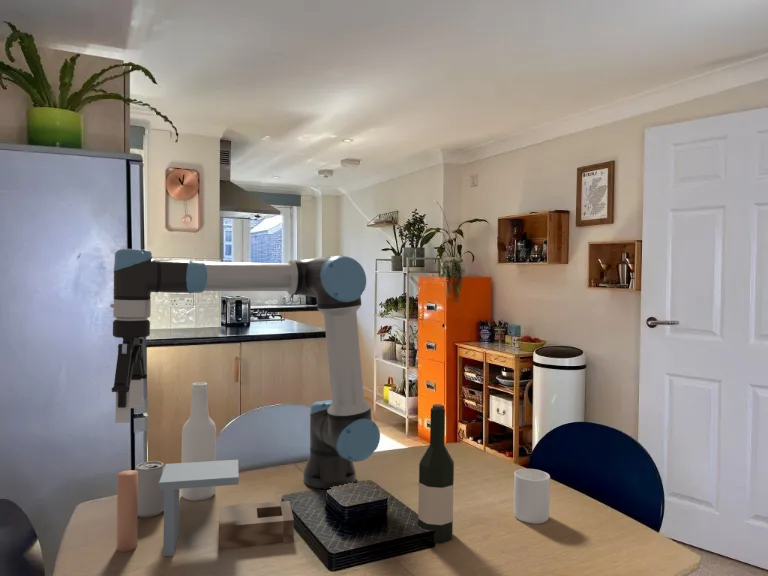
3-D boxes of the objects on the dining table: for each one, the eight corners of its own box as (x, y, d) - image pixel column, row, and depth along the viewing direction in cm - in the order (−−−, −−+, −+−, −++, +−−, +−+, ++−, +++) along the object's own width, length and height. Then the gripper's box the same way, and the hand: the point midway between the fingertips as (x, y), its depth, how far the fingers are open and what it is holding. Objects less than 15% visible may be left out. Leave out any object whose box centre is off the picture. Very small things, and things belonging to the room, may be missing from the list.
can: (153, 520, 136) (154, 470, 135) (126, 517, 137) (126, 467, 137) (171, 508, 143) (172, 460, 143) (145, 505, 144) (145, 458, 144)
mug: (534, 504, 150) (535, 463, 150) (555, 523, 138) (556, 479, 138) (503, 505, 148) (504, 464, 148) (521, 525, 136) (522, 481, 136)
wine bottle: (443, 547, 125) (446, 411, 124) (410, 537, 129) (413, 406, 129) (459, 533, 132) (462, 404, 131) (427, 524, 136) (430, 399, 136)
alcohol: (222, 493, 153) (224, 382, 153) (197, 504, 146) (199, 387, 145) (199, 486, 158) (200, 379, 157) (173, 497, 150) (174, 384, 149)
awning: (237, 525, 134) (238, 459, 134) (237, 549, 122) (238, 477, 122) (165, 531, 130) (165, 463, 129) (158, 557, 118) (159, 482, 118)
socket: (288, 521, 136) (289, 500, 136) (293, 542, 126) (293, 519, 126) (219, 527, 132) (219, 506, 132) (218, 549, 122) (218, 526, 122)
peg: (138, 542, 125) (139, 469, 124) (135, 550, 121) (136, 475, 120) (118, 543, 124) (119, 470, 123) (115, 552, 120) (115, 477, 119)
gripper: (126, 315, 137) (124, 402, 137) (98, 323, 113) (95, 429, 113) (159, 315, 139) (157, 402, 139) (138, 323, 114) (136, 428, 114)
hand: (129, 414), depth 126 cm, fingers open, 13 cm apart
